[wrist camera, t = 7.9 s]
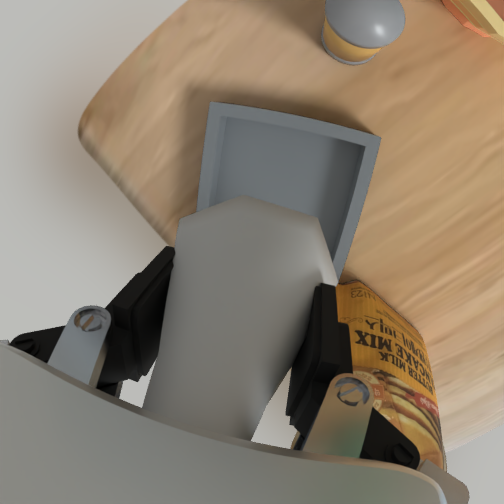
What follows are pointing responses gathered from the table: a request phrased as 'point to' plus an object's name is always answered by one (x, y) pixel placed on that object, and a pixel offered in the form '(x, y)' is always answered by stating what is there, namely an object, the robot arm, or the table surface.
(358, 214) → the tray
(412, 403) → the pancake mix bag
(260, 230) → the flask
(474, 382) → the table surface
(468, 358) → the table surface
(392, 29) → the fuse
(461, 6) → the potted cactus
